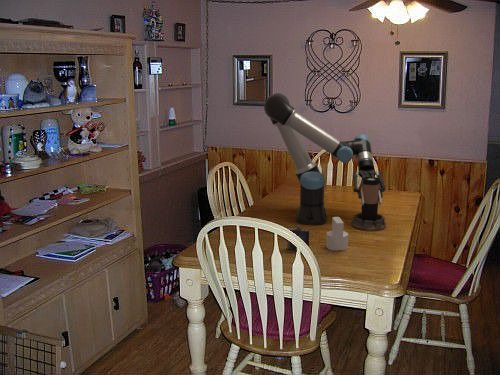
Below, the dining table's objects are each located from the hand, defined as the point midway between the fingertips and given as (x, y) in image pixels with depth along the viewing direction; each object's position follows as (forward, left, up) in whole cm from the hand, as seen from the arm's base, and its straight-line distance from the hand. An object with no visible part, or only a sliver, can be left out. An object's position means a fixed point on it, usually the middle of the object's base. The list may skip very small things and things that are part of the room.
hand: (371, 203), depth 256 cm
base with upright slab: (-30, -12, -12) cm, 35 cm away
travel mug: (+2, +3, -9) cm, 9 cm away
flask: (-46, -6, -12) cm, 48 cm away
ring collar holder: (+2, +3, -12) cm, 12 cm away
